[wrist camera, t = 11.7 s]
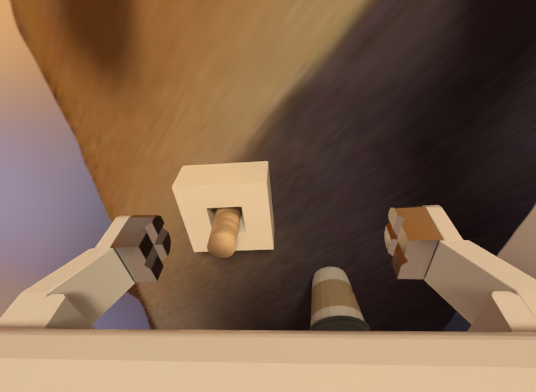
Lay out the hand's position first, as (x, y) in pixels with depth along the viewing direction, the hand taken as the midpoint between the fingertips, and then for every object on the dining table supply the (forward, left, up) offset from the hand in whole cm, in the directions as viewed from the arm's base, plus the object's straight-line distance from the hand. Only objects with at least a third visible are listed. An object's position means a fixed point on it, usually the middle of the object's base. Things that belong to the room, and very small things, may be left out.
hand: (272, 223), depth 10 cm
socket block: (+10, +23, -33) cm, 41 cm away
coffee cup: (-8, +46, -33) cm, 57 cm away
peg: (+9, +23, -33) cm, 41 cm away
